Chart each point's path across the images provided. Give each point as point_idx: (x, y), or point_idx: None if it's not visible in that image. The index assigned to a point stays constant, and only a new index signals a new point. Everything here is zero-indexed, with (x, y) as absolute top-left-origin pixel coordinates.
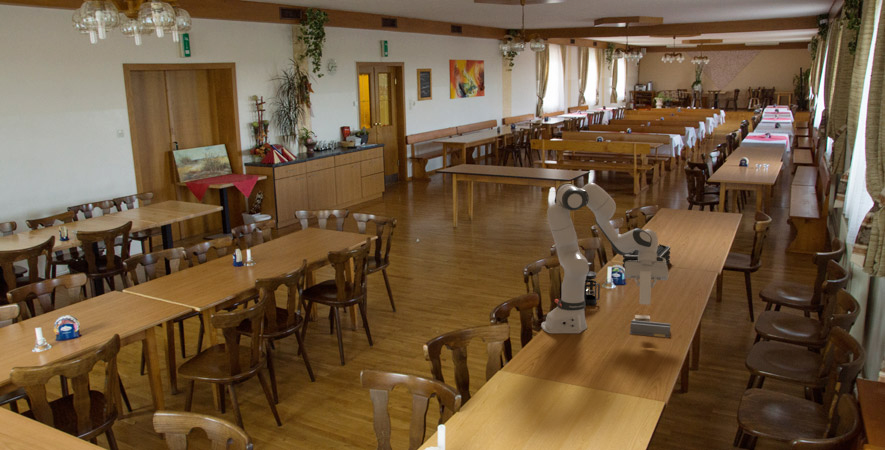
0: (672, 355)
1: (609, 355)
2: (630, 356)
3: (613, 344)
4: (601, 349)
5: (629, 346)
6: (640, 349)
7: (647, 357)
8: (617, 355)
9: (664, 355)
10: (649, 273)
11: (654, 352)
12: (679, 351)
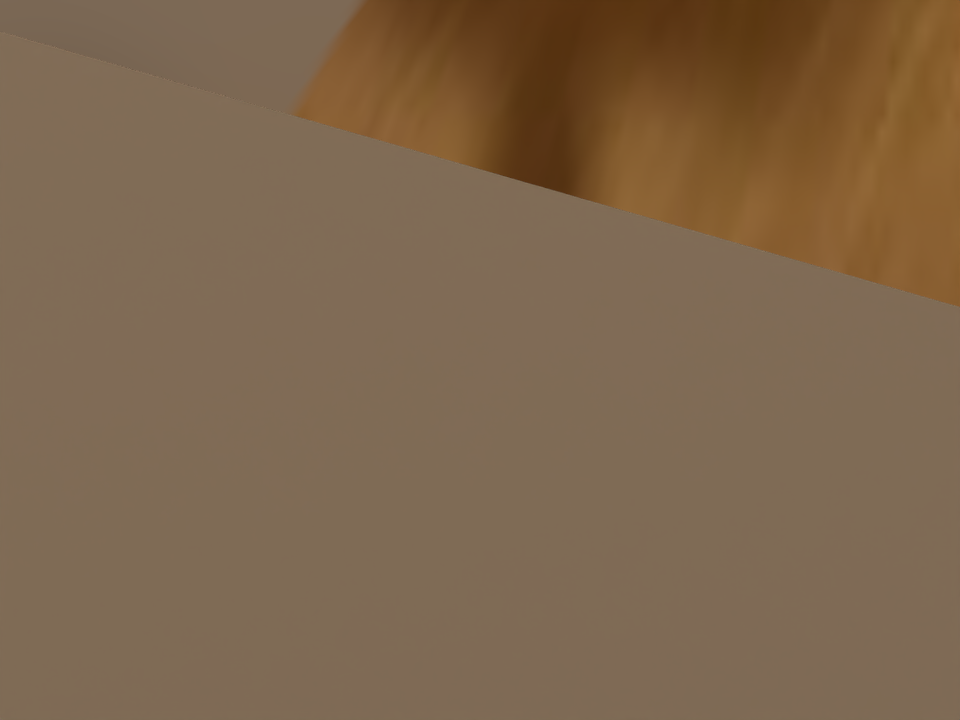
0: (383, 47)
1: (875, 57)
2: (712, 37)
3: (829, 264)
4: (938, 165)
5: (692, 219)
6: (609, 158)
7: (585, 19)
8: (812, 55)
9: (445, 49)
10: (215, 150)
11: (508, 101)
12: (301, 114)
